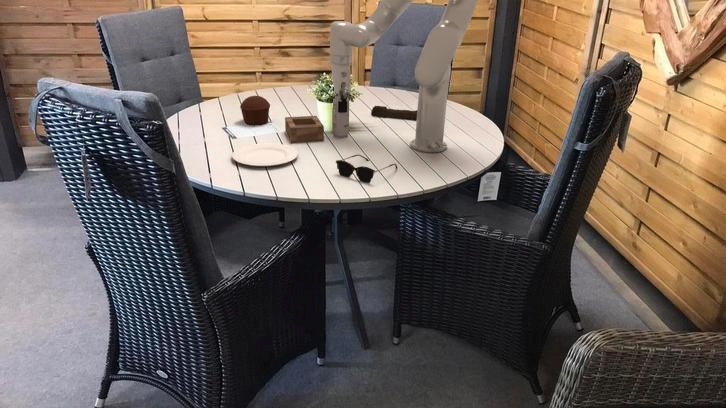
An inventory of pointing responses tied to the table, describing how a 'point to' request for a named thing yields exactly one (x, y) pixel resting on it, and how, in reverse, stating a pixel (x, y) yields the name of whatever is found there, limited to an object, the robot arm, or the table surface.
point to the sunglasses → (357, 170)
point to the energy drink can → (340, 120)
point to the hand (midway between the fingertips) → (339, 108)
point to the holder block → (304, 129)
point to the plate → (264, 155)
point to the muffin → (255, 111)
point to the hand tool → (393, 113)
